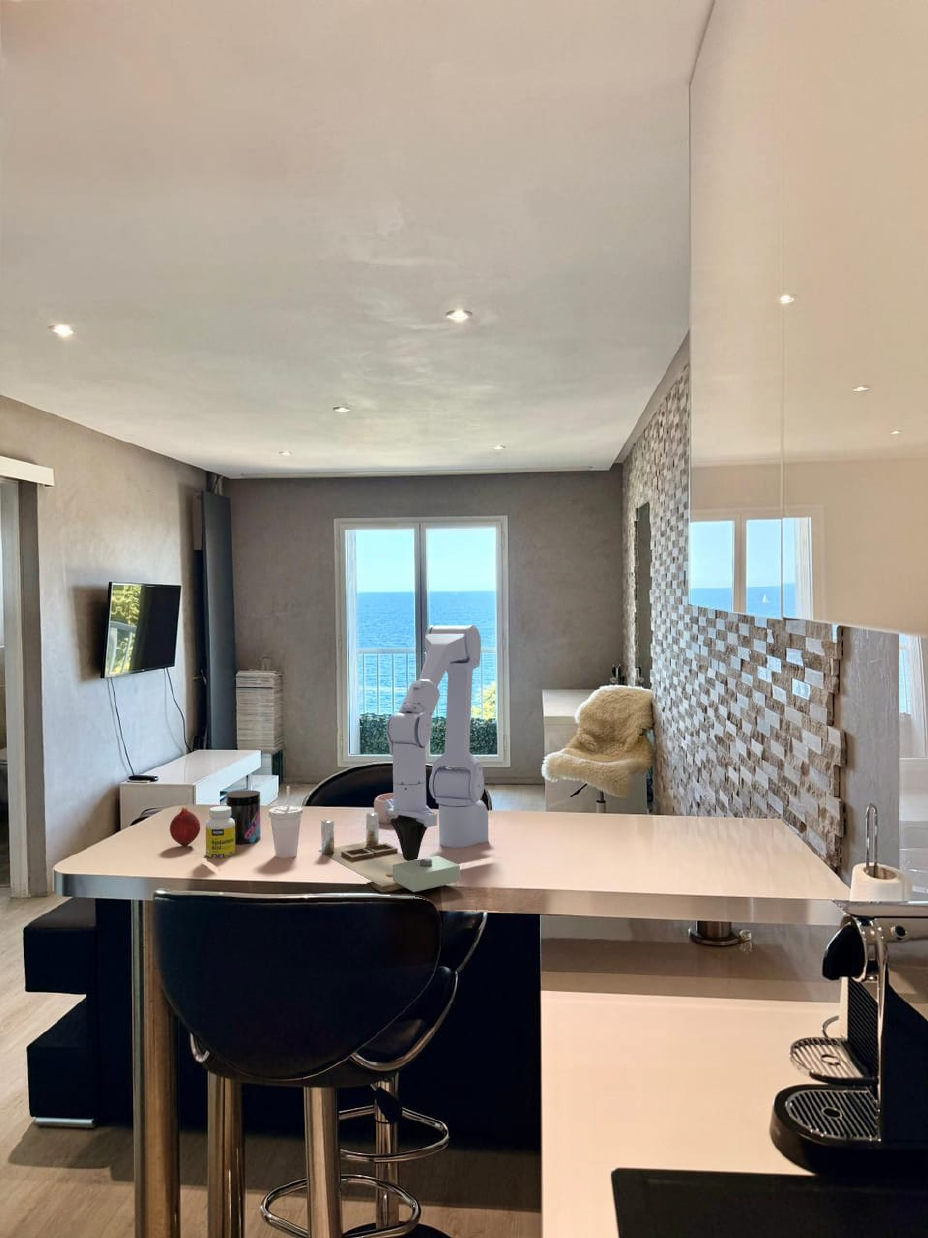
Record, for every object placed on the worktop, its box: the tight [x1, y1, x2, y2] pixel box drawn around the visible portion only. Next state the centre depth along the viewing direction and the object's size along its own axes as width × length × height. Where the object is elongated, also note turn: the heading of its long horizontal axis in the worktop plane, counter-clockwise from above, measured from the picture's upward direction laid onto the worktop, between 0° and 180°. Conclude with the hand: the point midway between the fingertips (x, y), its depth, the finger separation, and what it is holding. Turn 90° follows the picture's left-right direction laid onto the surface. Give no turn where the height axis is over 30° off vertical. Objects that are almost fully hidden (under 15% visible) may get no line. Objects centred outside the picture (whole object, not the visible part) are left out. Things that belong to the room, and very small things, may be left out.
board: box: [318, 841, 414, 893], centre depth 154 cm, size 12×26×2 cm, turn 34°
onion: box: [169, 806, 201, 848], centre depth 169 cm, size 6×6×8 cm
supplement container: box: [225, 789, 262, 846], centre depth 170 cm, size 7×7×10 cm
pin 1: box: [320, 819, 335, 856], centre depth 160 cm, size 2×2×6 cm
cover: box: [393, 855, 461, 893], centre depth 142 cm, size 9×7×4 cm
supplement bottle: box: [205, 805, 236, 863], centre depth 160 cm, size 5×5×10 cm
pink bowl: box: [373, 792, 398, 825], centre depth 187 cm, size 12×10×6 cm
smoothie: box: [268, 785, 304, 859], centre depth 159 cm, size 6×6×14 cm
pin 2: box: [365, 812, 380, 846], centre depth 165 cm, size 2×2×6 cm
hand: (410, 859), depth 146 cm, fingers closed
